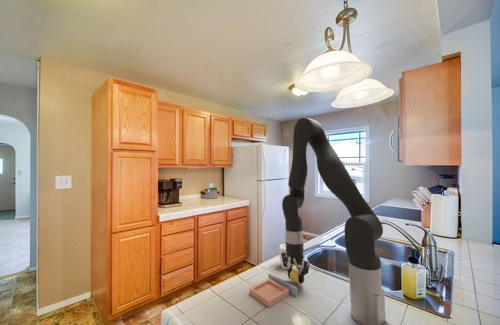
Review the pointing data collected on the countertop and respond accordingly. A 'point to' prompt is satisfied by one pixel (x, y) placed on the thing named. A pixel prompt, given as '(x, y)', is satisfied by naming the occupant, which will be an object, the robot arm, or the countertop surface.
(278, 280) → the fence
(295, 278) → the ball
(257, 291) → the pink square tray
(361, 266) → the robot arm
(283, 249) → the white cup
